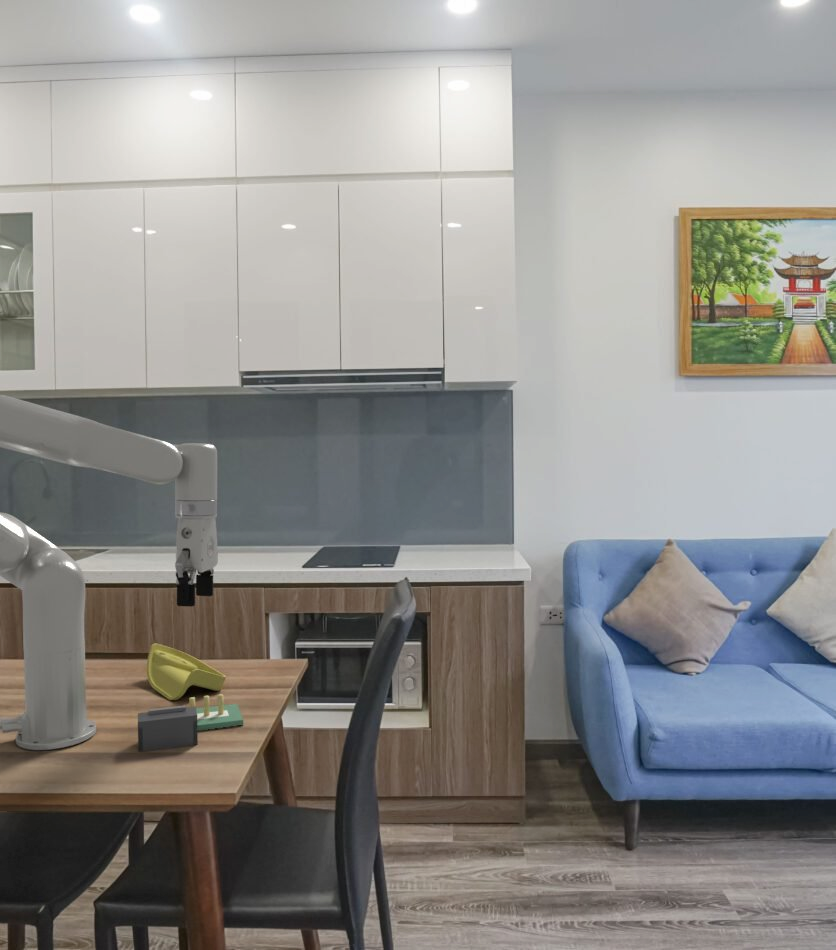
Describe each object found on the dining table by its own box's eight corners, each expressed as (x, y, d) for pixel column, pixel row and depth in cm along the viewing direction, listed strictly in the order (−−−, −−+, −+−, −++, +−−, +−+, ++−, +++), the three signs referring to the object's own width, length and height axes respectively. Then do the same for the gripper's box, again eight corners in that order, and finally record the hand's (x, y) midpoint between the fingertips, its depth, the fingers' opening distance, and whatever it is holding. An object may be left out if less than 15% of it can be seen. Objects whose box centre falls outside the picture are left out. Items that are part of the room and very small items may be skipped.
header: (173, 733, 135) (172, 708, 134) (171, 716, 143) (171, 692, 143) (243, 725, 139) (242, 700, 139) (237, 708, 147) (237, 685, 147)
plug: (138, 752, 127) (137, 718, 127) (138, 742, 131) (137, 709, 131) (197, 744, 130) (197, 711, 130) (196, 734, 134) (195, 703, 134)
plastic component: (230, 678, 159) (190, 667, 152) (215, 713, 157) (174, 703, 150) (186, 652, 173) (147, 640, 166) (172, 684, 171) (132, 673, 165)
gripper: (199, 513, 135) (198, 611, 136) (230, 506, 152) (229, 592, 153) (157, 512, 136) (157, 609, 136) (193, 505, 153) (192, 591, 153)
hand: (195, 600), depth 145 cm, fingers open, 9 cm apart
